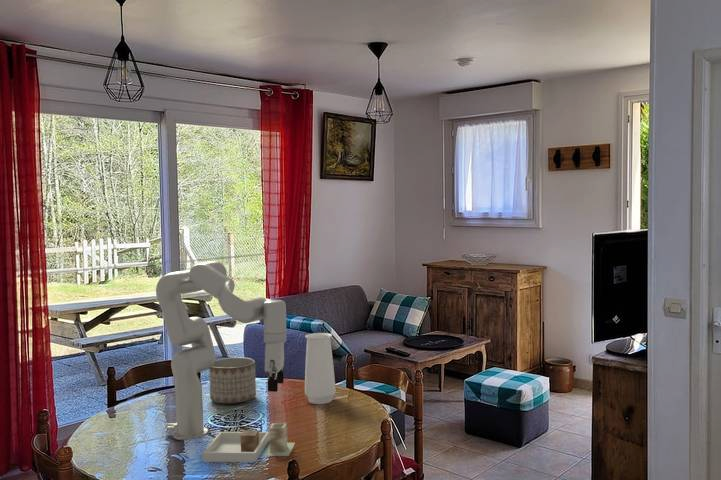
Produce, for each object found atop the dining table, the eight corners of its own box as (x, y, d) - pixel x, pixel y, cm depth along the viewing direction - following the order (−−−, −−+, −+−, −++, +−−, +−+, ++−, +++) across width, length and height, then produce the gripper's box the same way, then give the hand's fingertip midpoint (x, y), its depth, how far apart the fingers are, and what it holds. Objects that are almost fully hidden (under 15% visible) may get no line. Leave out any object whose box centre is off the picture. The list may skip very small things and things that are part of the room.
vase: (319, 394, 287) (317, 331, 285) (342, 399, 278) (340, 334, 277) (298, 401, 277) (296, 336, 275) (321, 407, 268) (319, 339, 267)
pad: (261, 457, 216) (261, 455, 216) (269, 444, 228) (269, 442, 227) (288, 457, 215) (288, 455, 215) (295, 444, 227) (295, 442, 227)
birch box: (269, 451, 219) (269, 427, 218) (273, 446, 224) (272, 423, 223) (284, 451, 218) (283, 427, 218) (287, 446, 223) (286, 423, 223)
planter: (206, 397, 286) (204, 360, 285) (249, 391, 294) (248, 355, 294) (216, 409, 269) (214, 370, 268) (261, 402, 277) (260, 364, 276)
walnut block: (241, 453, 218) (240, 435, 218) (244, 447, 223) (244, 430, 223) (255, 453, 218) (255, 435, 217) (259, 447, 223) (258, 430, 222)
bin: (202, 463, 212) (202, 452, 212) (220, 441, 231) (220, 431, 231) (255, 463, 210) (255, 452, 210) (269, 441, 230) (268, 431, 230)
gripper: (269, 331, 228) (270, 379, 229) (258, 342, 211) (258, 394, 212) (290, 331, 228) (291, 380, 229) (280, 342, 210) (281, 394, 211)
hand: (275, 387), depth 220 cm, fingers open, 9 cm apart
